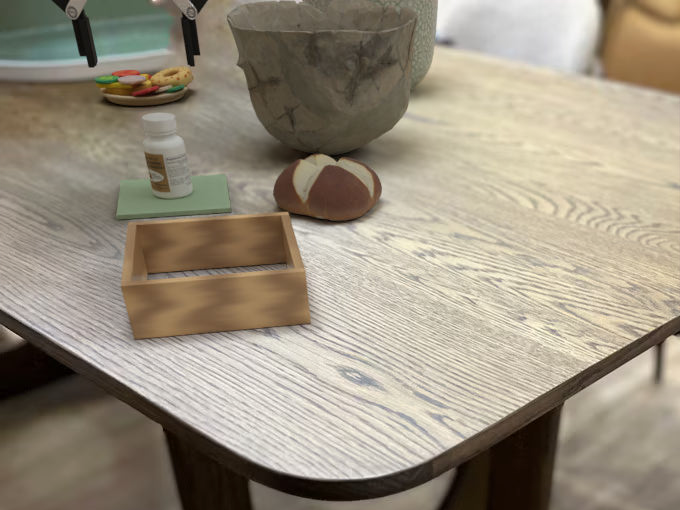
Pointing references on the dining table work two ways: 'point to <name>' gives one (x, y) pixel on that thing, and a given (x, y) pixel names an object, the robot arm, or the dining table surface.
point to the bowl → (325, 70)
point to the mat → (202, 200)
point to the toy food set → (145, 86)
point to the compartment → (213, 290)
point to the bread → (327, 188)
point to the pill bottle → (166, 157)
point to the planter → (424, 42)
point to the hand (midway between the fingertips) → (142, 64)
